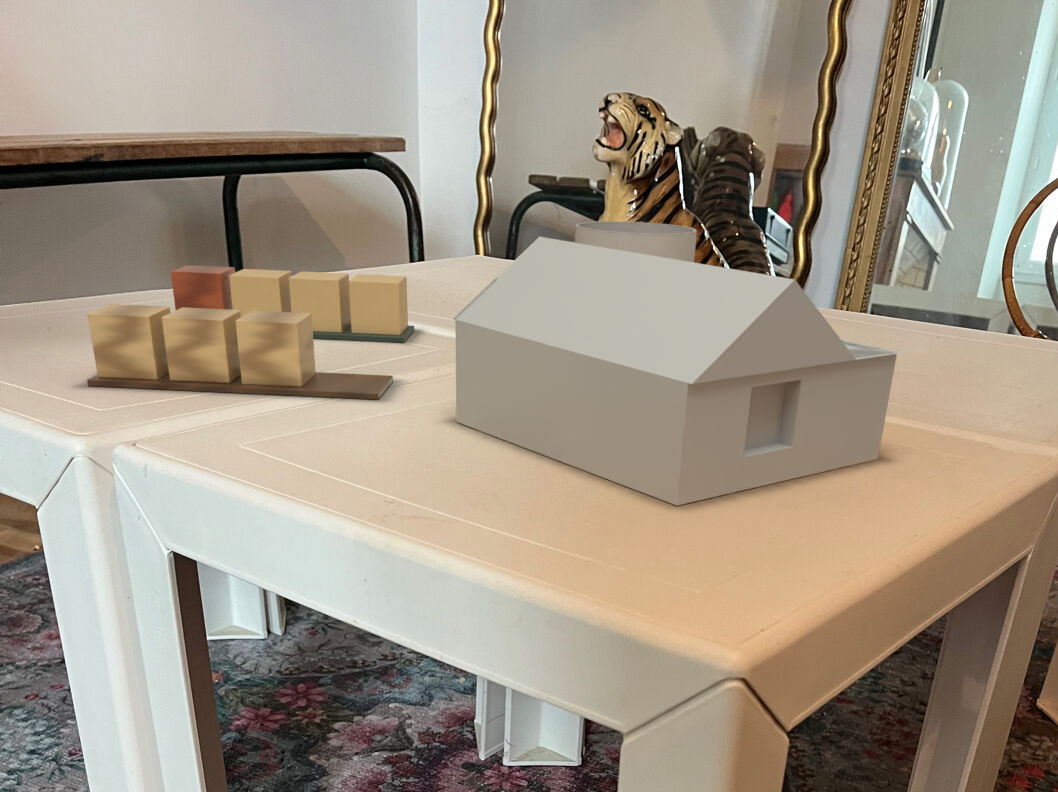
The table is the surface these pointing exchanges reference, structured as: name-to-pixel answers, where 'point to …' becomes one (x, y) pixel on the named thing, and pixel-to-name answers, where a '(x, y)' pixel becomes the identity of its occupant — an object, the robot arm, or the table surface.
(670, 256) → the planter
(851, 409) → the toy house
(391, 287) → the block row
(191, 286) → the copper orange cube
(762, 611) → the table surface
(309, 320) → the front word
